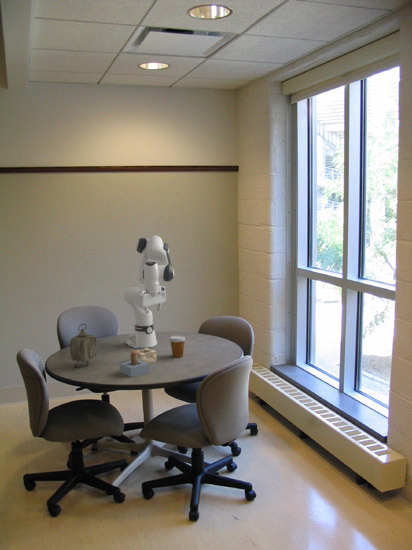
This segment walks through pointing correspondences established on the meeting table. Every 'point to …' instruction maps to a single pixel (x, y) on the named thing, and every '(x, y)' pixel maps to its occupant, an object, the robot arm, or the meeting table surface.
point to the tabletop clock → (83, 347)
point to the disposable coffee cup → (177, 345)
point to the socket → (135, 368)
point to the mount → (147, 355)
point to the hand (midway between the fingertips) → (153, 312)
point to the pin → (134, 358)
